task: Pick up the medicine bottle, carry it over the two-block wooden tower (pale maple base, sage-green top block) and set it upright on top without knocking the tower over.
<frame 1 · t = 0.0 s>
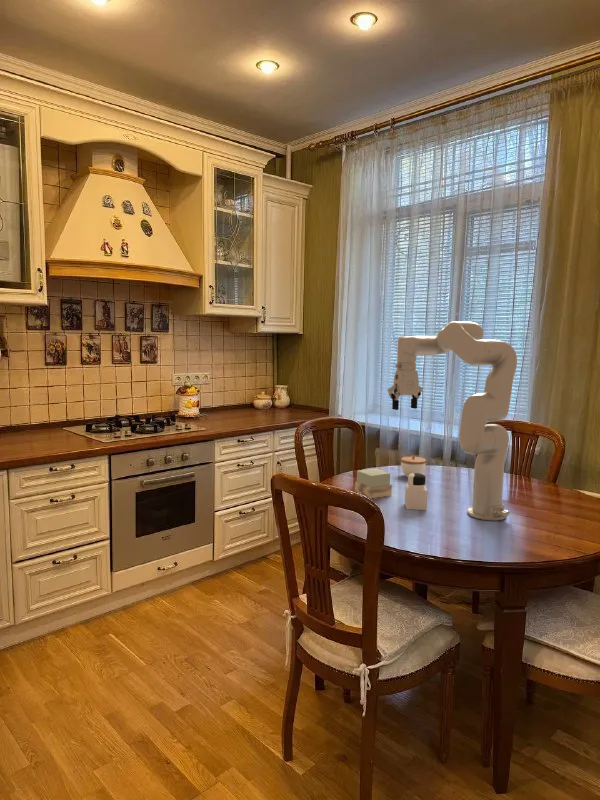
hand: (404, 408, 227), 31 cm above the table, tool pointing down, fingers open, 9 cm apart
tower top block: (373, 483, 214), point 4 cm above the table
medicine bottle: (415, 507, 199), on the table
tower bottom block: (372, 494, 214), on the table
lidded jar: (412, 477, 242), on the table
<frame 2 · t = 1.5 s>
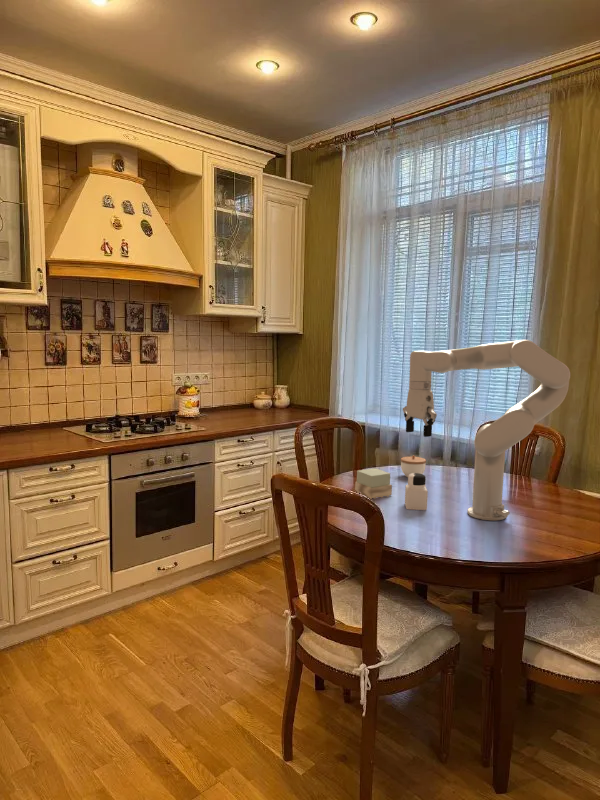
hand: (418, 434, 197), 26 cm above the table, tool pointing down, fingers open, 9 cm apart
tower top block: (373, 483, 214), point 4 cm above the table, touching tower bottom block
tower bottom block: (373, 494, 215), on the table, touching tower top block
everything else where it was.
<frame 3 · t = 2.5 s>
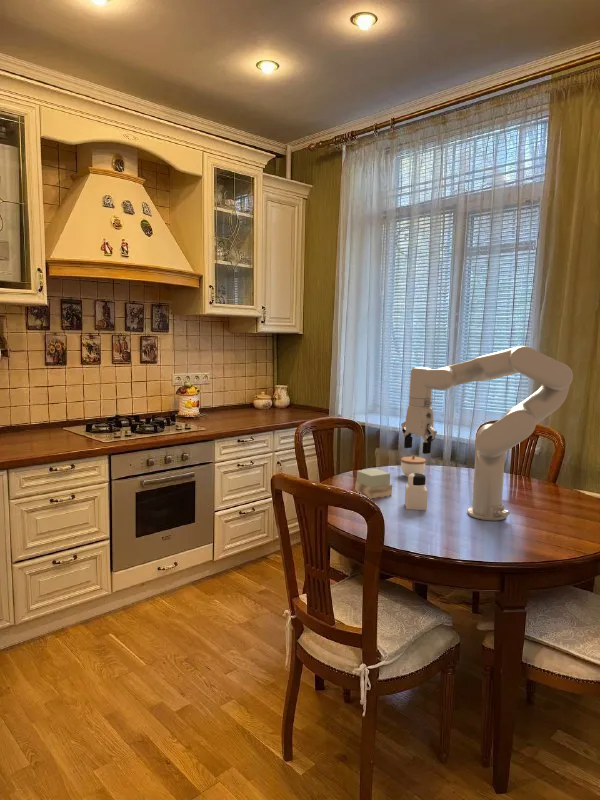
hand: (417, 450, 197), 21 cm above the table, tool pointing down, fingers open, 9 cm apart
nothing on the table moved.
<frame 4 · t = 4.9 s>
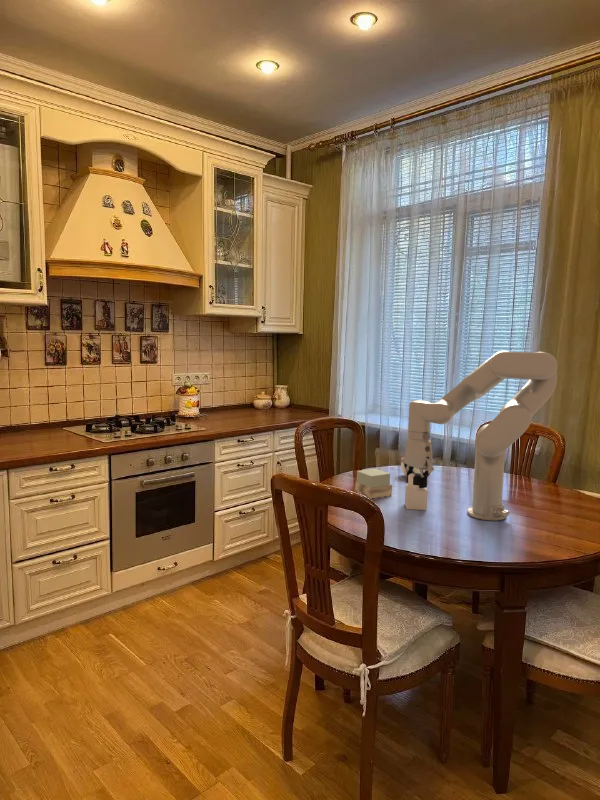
hand: (416, 484, 198), 8 cm above the table, tool pointing down, fingers closed on medicine bottle, 6 cm apart
medicine bottle: (415, 507, 199), on the table, touching gripper
everything else where it was.
when the fingers open (18 cm above the table, at t = 12.6 s): medicine bottle drops 2 cm, resting on tower top block.
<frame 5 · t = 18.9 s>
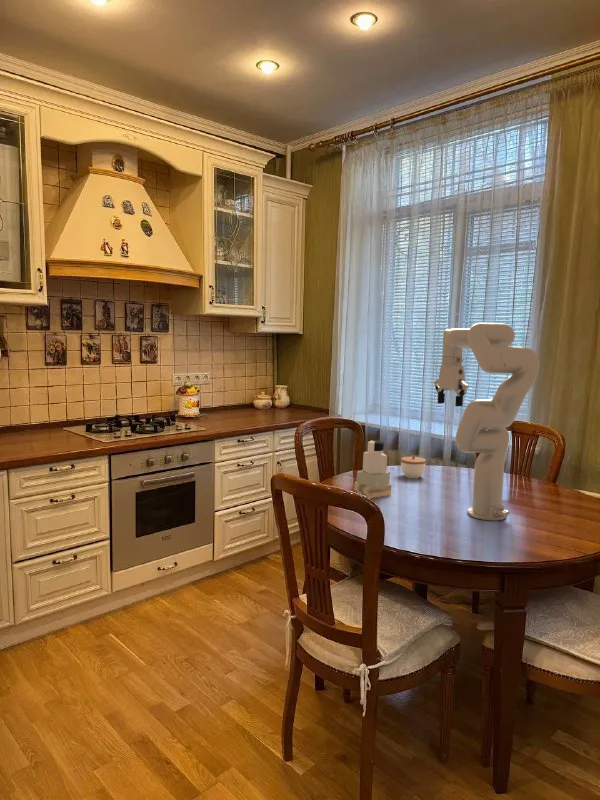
hand: (449, 404, 218), 34 cm above the table, tool pointing down, fingers open, 9 cm apart
tower top block: (373, 483, 214), point 4 cm above the table, touching medicine bottle, tower bottom block
medicine bottle: (374, 472, 214), point 8 cm above the table, touching tower top block
everything else where it was.
at the end: medicine bottle 0.4 cm off-centre on the tower top block, point 4.3 cm above the tower top block's base; tower top block 0.1 cm off-centre on the tower bottom block, point 4.5 cm above the tower bottom block's base; medicine bottle tilted 1° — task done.
